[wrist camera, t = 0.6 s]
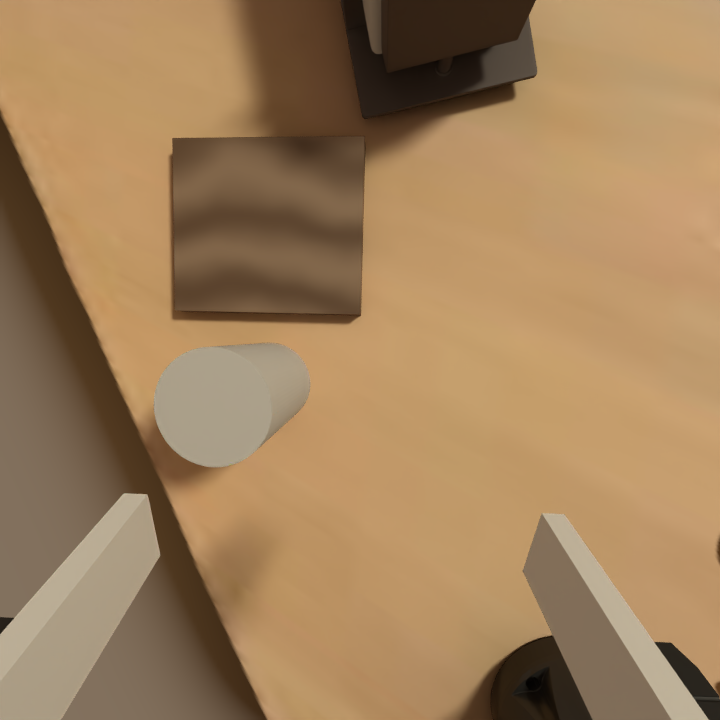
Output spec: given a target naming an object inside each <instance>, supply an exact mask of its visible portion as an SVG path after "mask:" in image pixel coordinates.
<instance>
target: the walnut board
mask: <svg viewBox="0 0 720 720" xmlns="http://www.w3.org/2000/svg"><path fill="white" fill-rule="evenodd" d="M172 141H173V210H174V279H175V310H176V311H187V312H232V313H278V314H323V315H361V292H362V253H363V214H364V174H365V137H364V136H320V137H233V138H172Z"/></svg>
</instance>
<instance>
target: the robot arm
mask: <svg viewBox="0 0 720 720" xmlns="http://www.w3.org/2000/svg"><path fill="white" fill-rule="evenodd" d="M159 556H160V552H159V547H158V542H157V538H156V533H155V528H154V523H153V518H152V514H151V509H150V504H149V499H148V495H146V494H123V495H122V496H121V497H120V499H119V500H118V501H117V502H116V503H115V504H114V506H112V508H111V509H110V510H109V511H108V512H107V513H106V514H105V516H104V517H103V518H102V519H101V520H100V521H99V522H98V523H97V525H96V526H95V527H94V528H93V529H92V530H91V531H90V533H89V534H88V535H87V536H86V537H85V539H83V541H82V542H81V543H80V544H79V545H78V546H77V547H76V549H75V550H74V551H73V552H72V553H71V554H70V555H69V557H68V558H67V559H66V560H65V561H64V562H63V563H62V565H61V566H60V567H59V568H58V569H57V570H56V571H55V572H54V574H53V575H52V576H51V577H50V578H49V579H48V580H47V582H46V583H45V584H44V585H43V586H42V587H41V588H40V590H39V591H38V592H37V593H36V594H35V595H34V596H33V598H32V599H31V600H30V601H29V602H28V603H27V604H26V605H25V607H24V608H23V609H22V610H21V611H20V612H19V613H18V615H17V616H16V617H15V618H4V617H0V720H61V718H62V717H63V715H64V714H65V712H66V710H67V709H68V707H69V705H70V704H71V702H72V700H73V699H74V697H75V695H76V693H77V692H78V690H79V689H80V687H81V685H82V684H83V682H84V680H85V679H86V677H87V675H88V674H89V672H90V671H91V669H92V667H93V666H94V664H95V662H96V661H97V659H98V657H99V656H100V654H101V652H102V651H103V649H104V647H105V646H106V644H107V642H108V641H109V639H110V637H111V636H112V634H113V632H114V631H115V629H116V627H117V626H118V624H119V623H120V621H121V619H122V617H123V616H124V614H125V613H126V611H127V609H128V608H129V606H130V604H131V603H132V601H133V599H134V598H135V596H136V594H137V593H138V591H139V589H140V588H141V586H142V584H143V583H144V581H145V579H146V578H147V576H148V574H149V572H150V571H151V569H152V568H153V566H154V565H155V563H156V561H157V560H158V558H159ZM523 572H524V575H525V577H526V579H527V581H528V583H529V585H530V587H531V590H532V592H533V594H534V596H535V598H536V600H537V602H538V604H539V607H540V609H541V611H542V613H543V615H544V617H545V619H546V622H547V624H548V626H549V628H550V630H551V632H552V634H553V636H554V637H548V638H544V639H540V640H537V641H535V642H532V643H530V644H528V645H526V646H524V647H522V648H521V649H520V650H518V651H517V652H515V653H514V654H513V655H512V656H511V657H510V658H509V659H508V660H507V661H506V662H505V663H504V665H503V666H502V667H501V669H500V671H499V672H498V674H497V676H496V678H495V681H494V684H493V688H492V692H491V712H492V717H493V720H720V699H719V695H718V694H717V693H716V691H715V690H714V689H713V687H712V686H711V685H710V684H709V682H708V681H707V680H706V678H705V677H704V676H703V674H702V673H701V672H700V670H699V669H698V668H697V667H696V666H695V665H694V664H693V663H692V662H691V661H690V660H689V659H688V658H687V657H686V656H685V655H683V654H682V653H681V652H680V651H679V650H678V649H677V648H676V647H675V646H674V645H673V644H672V643H665V642H654V641H653V640H652V638H651V637H650V635H649V634H648V633H647V631H646V630H645V628H644V627H643V626H642V624H641V623H640V621H639V620H638V618H637V617H636V616H635V614H634V613H633V611H632V610H631V608H630V607H629V606H628V604H627V603H626V601H625V600H624V598H623V597H622V596H621V594H620V593H619V591H618V590H617V589H616V587H615V586H614V584H613V583H612V581H611V580H610V579H609V577H608V576H607V574H606V573H605V571H604V570H603V569H602V567H601V566H600V564H599V563H598V562H597V560H596V559H595V557H594V556H593V554H592V553H591V552H590V550H589V549H588V547H587V546H586V544H585V543H584V542H583V540H582V539H581V537H580V536H579V534H578V533H577V532H576V530H575V529H574V527H573V526H572V525H571V523H570V522H569V520H568V519H567V517H566V516H565V515H564V514H549V513H542V514H541V517H540V520H539V523H538V526H537V529H536V532H535V535H534V538H533V541H532V544H531V548H530V551H529V554H528V557H527V560H526V563H525V566H524V569H523Z"/></svg>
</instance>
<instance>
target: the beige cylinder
mask: <svg viewBox="0 0 720 720" xmlns="http://www.w3.org/2000/svg"><path fill="white" fill-rule="evenodd" d="M309 391H310V376H309V372H308V369H307V367H306V365H305V363H304V361H303V360H302V358H301V357H300V356H299V355H298V354H297V353H296V352H295V351H293V350H292V349H290V348H288V347H286V346H284V345H281V344H277V343H258V344H244V345H230V346H215V347H203V348H197V349H193V350H190V351H188V352H186V353H184V354H182V355H180V356H179V357H177V358H176V359H175V360H174V361H172V362H171V363H170V364H169V365H168V367H167V368H166V369H165V371H164V372H163V373H162V375H161V377H160V379H159V381H158V384H157V387H156V390H155V396H154V413H155V418H156V422H157V425H158V428H159V430H160V432H161V434H162V436H163V438H164V439H165V441H166V442H167V443H168V445H169V446H170V447H171V448H172V449H173V450H174V451H175V452H176V453H177V454H179V455H180V456H182V457H183V458H185V459H186V460H188V461H190V462H193V463H195V464H198V465H202V466H206V467H225V466H230V465H233V464H236V463H239V462H241V461H243V460H244V459H246V458H247V457H249V456H250V455H251V454H253V453H254V452H255V451H256V450H257V449H258V448H259V447H260V446H261V445H263V444H264V443H265V442H266V441H267V440H268V439H269V438H270V437H271V436H272V435H274V434H275V433H276V432H277V431H278V430H279V429H280V428H281V427H282V426H283V425H285V424H286V423H287V422H288V421H289V420H290V419H291V418H292V417H293V416H294V415H295V414H297V413H298V412H299V411H300V410H301V408H302V407H303V406H304V404H305V402H306V400H307V398H308V395H309Z"/></svg>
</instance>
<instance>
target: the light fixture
mask: <svg viewBox="0 0 720 720" xmlns="http://www.w3.org/2000/svg"><path fill="white" fill-rule="evenodd" d="M535 1H536V0H341V5H342V10H343V15H344V21H345V26H346V31H347V37H348V42H349V47H350V53H351V58H352V64H353V69H354V74H355V80H356V85H357V90H358V96H359V101H360V106H361V112H362V117H363V118H364V119H367V118H372V117H376V116H380V115H384V114H388V113H392V112H396V111H400V110H404V109H408V108H412V107H416V106H420V105H424V104H428V103H432V102H437V101H441V100H445V99H449V98H453V97H457V96H461V95H465V94H469V93H473V92H477V91H481V90H485V89H489V88H493V87H497V86H502V85H506V84H510V83H514V82H518V81H522V80H526V79H530V78H534V77H535V76H536V74H537V67H536V60H535V54H534V47H533V41H532V35H531V28H530V22H529V14H530V12H531V9H532V7H533V5H534V3H535Z"/></svg>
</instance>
